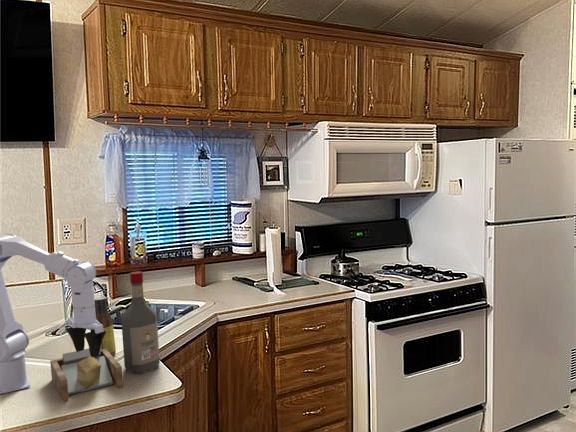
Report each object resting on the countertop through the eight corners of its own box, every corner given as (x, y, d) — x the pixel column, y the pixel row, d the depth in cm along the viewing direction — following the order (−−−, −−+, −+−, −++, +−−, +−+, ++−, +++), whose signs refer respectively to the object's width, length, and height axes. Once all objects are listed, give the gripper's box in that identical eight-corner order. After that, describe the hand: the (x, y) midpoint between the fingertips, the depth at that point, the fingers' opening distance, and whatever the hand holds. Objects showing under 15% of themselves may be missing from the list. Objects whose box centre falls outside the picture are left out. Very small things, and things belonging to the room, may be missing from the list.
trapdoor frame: (51, 380, 155) (50, 360, 155) (107, 367, 164) (105, 348, 163) (62, 402, 140) (61, 380, 140) (123, 386, 149) (121, 366, 148)
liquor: (163, 366, 163) (157, 272, 160) (136, 375, 156) (129, 277, 153) (148, 359, 169) (142, 268, 166) (121, 368, 163) (115, 273, 160)
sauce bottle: (118, 352, 177) (114, 295, 174) (112, 359, 170) (108, 299, 168) (98, 353, 176) (94, 295, 174) (92, 360, 170) (88, 300, 168)
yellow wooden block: (76, 379, 148) (77, 362, 144) (90, 372, 151) (92, 355, 148) (85, 389, 146) (86, 372, 142) (99, 382, 149) (100, 365, 145)
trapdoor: (58, 361, 154) (59, 354, 152) (100, 352, 160) (101, 345, 159) (68, 397, 145) (68, 390, 143) (112, 386, 151) (113, 379, 150)
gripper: (56, 305, 147) (60, 352, 149) (85, 313, 138) (88, 363, 140) (79, 300, 153) (83, 345, 154) (108, 307, 144) (112, 355, 145)
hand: (87, 353), depth 147 cm, fingers open, 7 cm apart
